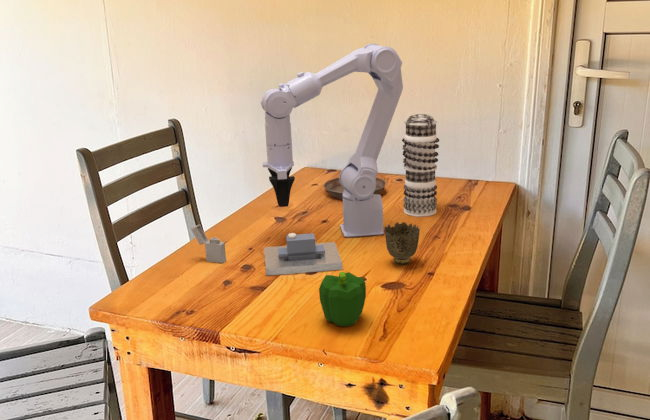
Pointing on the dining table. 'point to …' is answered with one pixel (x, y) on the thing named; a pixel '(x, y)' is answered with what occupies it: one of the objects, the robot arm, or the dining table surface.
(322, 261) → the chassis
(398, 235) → the cup
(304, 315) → the dining table surface
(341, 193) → the plant saucer
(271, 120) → the robot arm
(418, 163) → the decorative candle
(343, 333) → the dining table surface
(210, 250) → the lighter
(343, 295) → the bell pepper
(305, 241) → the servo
